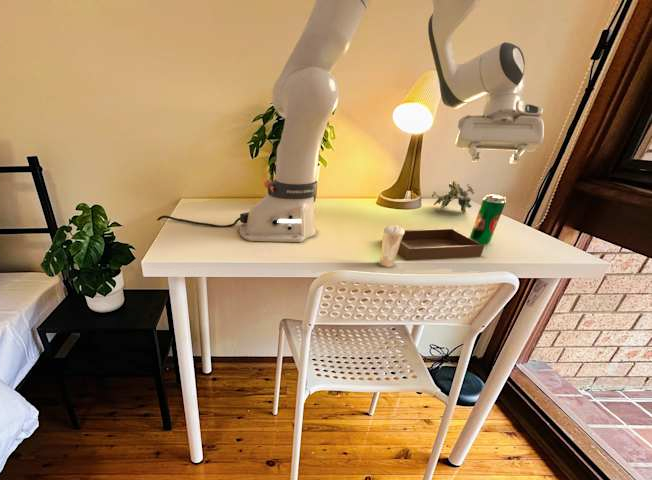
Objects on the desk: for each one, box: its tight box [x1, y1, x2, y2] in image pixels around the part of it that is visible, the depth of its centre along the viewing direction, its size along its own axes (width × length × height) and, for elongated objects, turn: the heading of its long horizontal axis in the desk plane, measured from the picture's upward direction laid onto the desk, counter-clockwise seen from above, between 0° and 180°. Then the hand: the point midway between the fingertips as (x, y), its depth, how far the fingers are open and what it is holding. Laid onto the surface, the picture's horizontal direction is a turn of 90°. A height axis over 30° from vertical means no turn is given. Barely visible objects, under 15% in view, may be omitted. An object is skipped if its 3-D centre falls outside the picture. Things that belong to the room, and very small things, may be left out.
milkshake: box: [378, 225, 405, 268], centre depth 86 cm, size 4×5×10 cm
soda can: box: [469, 194, 507, 246], centre depth 98 cm, size 5×5×12 cm
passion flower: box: [431, 180, 475, 214], centre depth 124 cm, size 11×11×12 cm
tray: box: [397, 227, 486, 261], centre depth 97 cm, size 20×14×3 cm
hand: (494, 161), depth 100 cm, fingers open, 8 cm apart
